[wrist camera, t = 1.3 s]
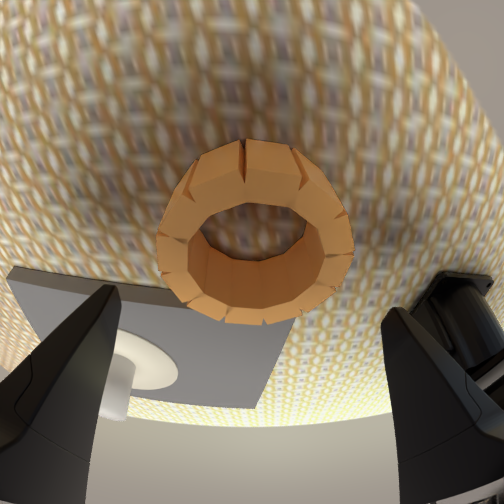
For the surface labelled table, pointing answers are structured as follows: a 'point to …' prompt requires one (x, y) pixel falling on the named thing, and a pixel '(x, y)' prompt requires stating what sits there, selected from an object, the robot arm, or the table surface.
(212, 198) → the orange ring
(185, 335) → the post board
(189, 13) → the table surface
